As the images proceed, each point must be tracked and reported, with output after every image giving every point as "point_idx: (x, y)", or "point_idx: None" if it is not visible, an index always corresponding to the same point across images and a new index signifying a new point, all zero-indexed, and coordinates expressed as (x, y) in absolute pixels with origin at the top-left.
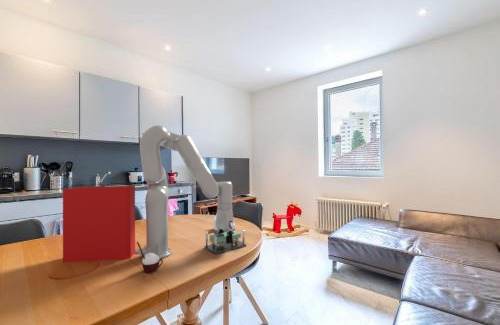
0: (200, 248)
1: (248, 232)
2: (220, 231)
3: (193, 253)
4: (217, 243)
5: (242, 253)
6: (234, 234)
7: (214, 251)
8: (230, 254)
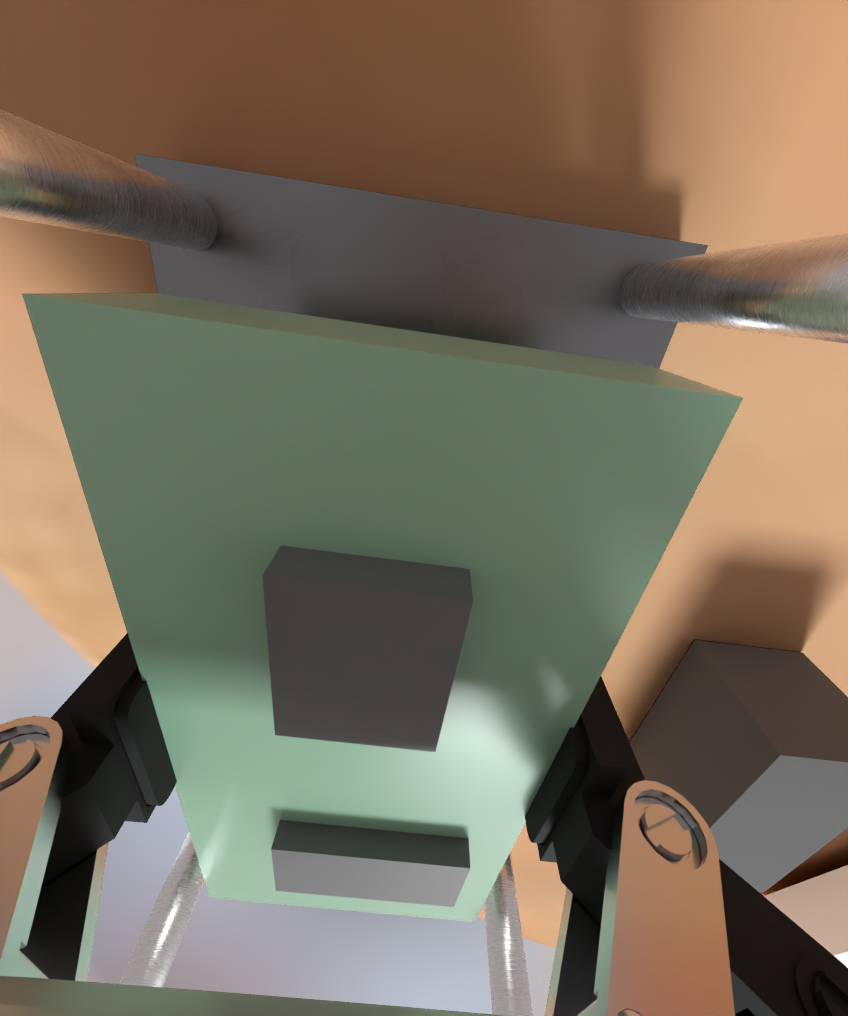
0: (751, 150)
1: (557, 897)
2: (581, 812)
3: None
4: None
5: (17, 554)
6: (219, 839)
7: (207, 192)
8: (47, 414)
